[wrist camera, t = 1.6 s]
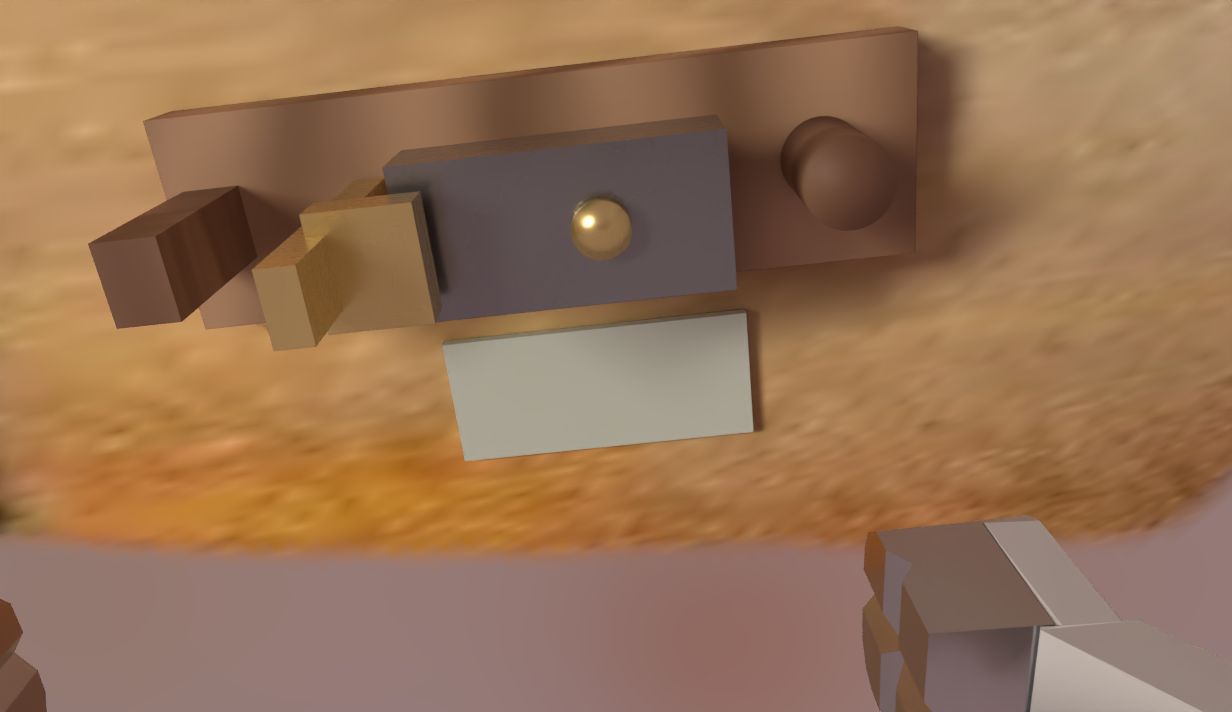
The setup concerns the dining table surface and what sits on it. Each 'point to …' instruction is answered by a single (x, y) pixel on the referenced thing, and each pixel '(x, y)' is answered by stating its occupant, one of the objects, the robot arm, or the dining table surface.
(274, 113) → the plane body
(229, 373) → the dining table surface
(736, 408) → the pale grey flat slab
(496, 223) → the purple-grey knobbed block
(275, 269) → the lever
